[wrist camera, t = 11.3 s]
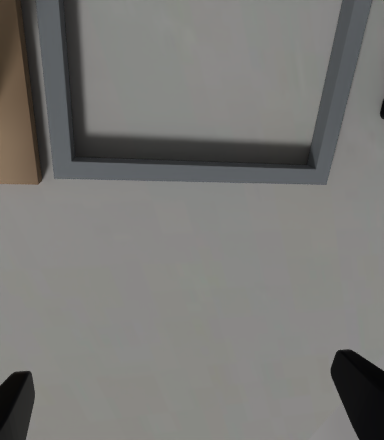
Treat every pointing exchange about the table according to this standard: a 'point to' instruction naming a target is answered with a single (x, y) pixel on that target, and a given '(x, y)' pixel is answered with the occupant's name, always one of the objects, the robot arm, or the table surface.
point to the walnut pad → (16, 102)
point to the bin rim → (198, 170)
